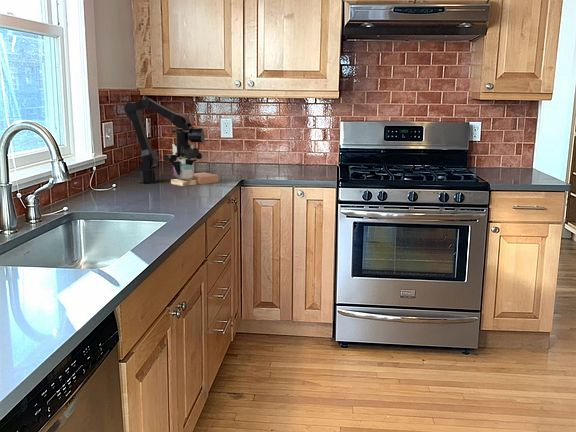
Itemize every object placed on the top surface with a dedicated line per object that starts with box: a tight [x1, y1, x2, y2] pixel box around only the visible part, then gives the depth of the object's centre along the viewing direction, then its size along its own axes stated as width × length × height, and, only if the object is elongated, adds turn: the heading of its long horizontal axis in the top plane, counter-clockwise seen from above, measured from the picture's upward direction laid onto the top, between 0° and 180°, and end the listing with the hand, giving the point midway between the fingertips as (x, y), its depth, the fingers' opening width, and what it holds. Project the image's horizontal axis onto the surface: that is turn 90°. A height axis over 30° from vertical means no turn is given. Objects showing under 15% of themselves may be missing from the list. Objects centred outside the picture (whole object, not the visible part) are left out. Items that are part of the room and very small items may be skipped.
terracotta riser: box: [187, 171, 219, 185], centre depth 282 cm, size 11×12×4 cm
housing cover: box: [180, 162, 192, 170], centre depth 273 cm, size 5×8×3 cm, turn 44°
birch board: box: [170, 178, 198, 187], centre depth 275 cm, size 8×10×2 cm
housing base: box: [174, 168, 193, 179], centre depth 274 cm, size 5×8×4 cm, turn 44°
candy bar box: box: [171, 143, 196, 176], centre depth 303 cm, size 11×5×16 cm, turn 61°
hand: (183, 174), depth 274 cm, fingers closed on housing base, 5 cm apart
